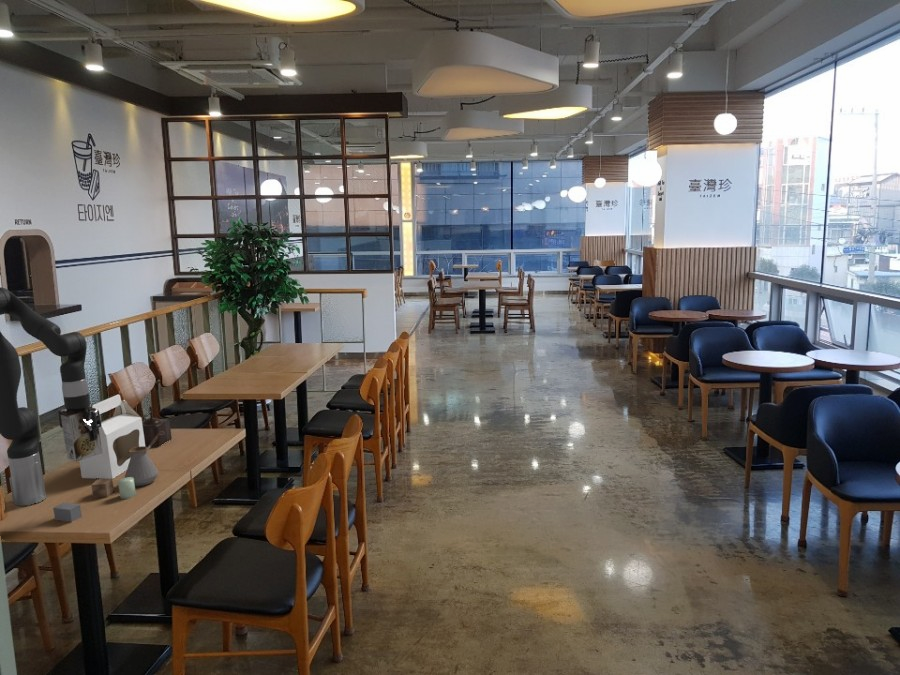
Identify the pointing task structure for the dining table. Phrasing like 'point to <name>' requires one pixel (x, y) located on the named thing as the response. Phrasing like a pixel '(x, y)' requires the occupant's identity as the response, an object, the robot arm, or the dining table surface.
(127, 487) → the sage cylinder
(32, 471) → the robot arm
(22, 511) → the dining table surface
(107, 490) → the walnut cube
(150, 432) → the manual coffee grinder
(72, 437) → the coffee box
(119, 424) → the gable box
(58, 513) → the charcoal block
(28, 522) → the dining table surface
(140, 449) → the coffee pot
